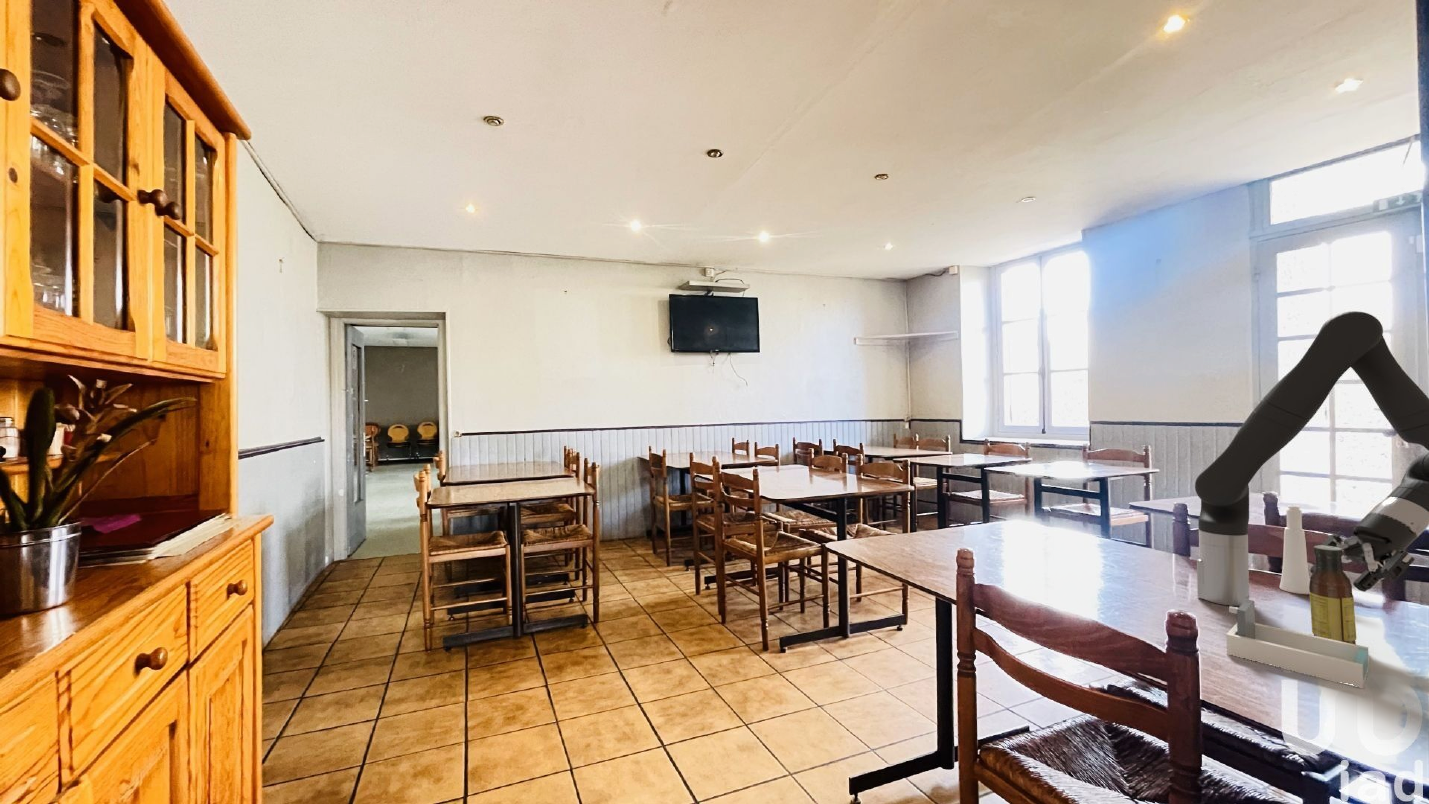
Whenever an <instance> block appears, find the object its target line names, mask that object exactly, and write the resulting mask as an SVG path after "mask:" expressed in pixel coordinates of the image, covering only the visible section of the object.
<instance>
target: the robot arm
mask: <svg viewBox="0 0 1429 804" xmlns="http://www.w3.org/2000/svg"><path fill="white" fill-rule="evenodd" d="M1383 328H1384V327H1383V325H1382V323H1381V322H1380V319H1378V318H1377V317H1375V316H1374V315H1372V314H1370V313H1368V312H1363V311H1347V312H1346V311H1344V312H1341V313H1339V314H1336V315H1334V316H1331V317H1329V319H1327V320H1326V321H1325V322H1324V323H1323V324H1322V326H1321V327H1320V330H1319V332H1318V334H1317V335H1316V336H1315V338H1314V340H1313V342H1312V343H1311V345H1310V346H1309V347H1308V349H1307V351H1306V352H1305V353H1304V355H1303V356H1302V357H1301V359H1300V360H1299V362H1297V364H1296V365H1295V366H1294V367H1293V368H1292V369H1291V370H1290V371H1289V372H1288V373H1287V374H1286V375H1284V377H1282V378H1281V379H1280V380H1279V381H1278V382H1277V383H1276V384H1275V385H1274V386H1273V387H1272V388H1271V389H1270V390H1269V391H1268V392H1267V393H1266V395H1265V396H1264V397H1263V398H1262V399H1261V400H1260V401H1259V403H1258V404H1257V405H1256V407H1254V409H1253V410H1252V412H1251V413H1250V414H1249V416H1248V417H1247V418H1246V419H1245V421H1244V422H1243V423H1242V425H1241V427H1240V428H1239V429H1238V431H1237V433H1236V434H1235V436H1234V437H1233V439H1232V440H1231V442H1230V443H1229V445H1228V446H1227V447H1226V449H1225V450H1223V452H1222V453H1221V454H1220V455H1218V457H1217V458H1216V459H1215V460H1214V461H1213V462H1212V463H1211V464H1210V465H1209V466H1208V467H1206V468H1205V470H1203V471H1202V472H1201V473H1200V474H1199V475H1198V476H1197V477H1196V479H1195V482H1194V490H1195V493H1196V495H1197V497H1198V498H1199V499H1200V512H1199V513H1200V514H1199V516H1198V523H1197V524H1198V525H1197V526H1198V551H1199V552H1198V553H1199V557H1198V559H1197V560H1196V577H1197V579H1196V580H1197V581H1196V585H1197V586H1196V587H1197V598H1198V599H1203V600H1205V601H1207V602H1211V603H1214V604H1219V605H1225V606H1231V607H1240V606H1241V605H1242V604H1243V603H1244V602H1245V601H1246V599H1247V600H1250V574H1249V571H1250V570H1249V567H1250V566H1249V537H1248V536H1249V535H1248V533H1249V532H1248V529H1249V527H1248V526H1249V521H1250V486H1249V484H1250V483H1251V481H1252V480H1253V479H1254V477H1255V475H1256V474H1257V473H1258V471H1260V469H1261V467H1263V465H1264V464H1266V462H1268V461H1269V460H1270V459H1271V458H1272V457H1274V456H1275V455H1276V454H1277V453H1279V452H1280V451H1281V450H1283V448H1285V447H1286V446H1287V445H1288V444H1289V443H1290V442H1292V440H1293V439H1294V438H1295V437H1297V436H1298V435H1299V434H1300V433H1301V431H1302V430H1303V429H1304V428H1305V426H1306V425H1307V424H1308V423H1309V422H1310V421H1311V420H1312V418H1314V416H1315V415H1316V413H1317V412H1318V411H1319V410H1320V408H1321V406H1322V405H1323V404H1324V402H1325V401H1326V400H1327V398H1328V396H1329V394H1330V393H1331V392H1332V390H1333V388H1334V386H1335V385H1336V384H1337V382H1338V381H1339V379H1341V378H1342V376H1343V375H1344V374H1345V373H1346V372H1347V371H1348V370H1349V369H1350V368H1351V370H1352V371H1354V372H1355V373H1356V375H1357V376H1358V378H1359V379H1360V381H1361V382H1363V384H1364V385H1365V387H1366V389H1367V390H1368V393H1369V394H1370V396H1371V397H1372V398H1373V401H1374V402H1375V403H1376V405H1377V406H1378V409H1379V411H1380V412H1381V413H1382V414H1383V416H1384V417H1385V418H1386V420H1387V421H1388V423H1389V424H1390V425H1391V427H1392V428H1393V430H1394V431H1395V432H1396V434H1397V435H1398V436H1399V438H1400V439H1402V441H1404V442H1406V443H1408V444H1416V445H1420V446H1422V447H1423V448H1425V449H1426V450H1427V451H1428V452H1425V453H1423V454H1420V455H1419V456H1418V457H1416V458H1415V459H1414V460H1413V461H1412V462H1411V463H1410V464H1409V466H1408V467H1407V469H1406V471H1405V473H1404V474H1403V477H1402V479H1401V481H1400V484H1399V485H1397V487H1396V488H1395V489H1393V491H1391V492H1390V493H1389V495H1387V496H1386V498H1384V499H1383V500H1382V501H1381V502H1379V503H1377V504H1376V505H1375V506H1374V507H1372V509H1371V510H1370V511H1369V512H1368V513H1367V514H1366V515H1365V516H1364V517H1363V518H1362V519H1361V520H1360V521H1359V522H1358V523H1357V524H1356V525H1355V526H1354V528H1353V533H1352V535H1351V536H1350V537H1347V538H1343V537H1341V536H1340V535H1339V534H1337V533H1332V534H1331V535H1330V536H1328V537H1327V538H1326V539H1325V540H1324V541H1323V542H1322V543H1320V545H1324V546H1333V547H1338V548H1341V549H1342V552H1344V554H1345V555H1344V554H1343V555H1342V557H1341V559H1342V564H1343V563H1344V564H1348V563H1351V562H1354V563H1359V564H1363V565H1365V566H1367V568H1368V570H1364V571H1363V572H1362V574H1360V575H1359V576H1358V578H1356V579H1355V580H1354V581H1353V583H1352V584H1353V587H1355V588H1356V589H1357V590H1358V591H1360V592H1363V593H1364V592H1367V591H1368V590H1371V589H1372V588H1373V587H1374V586H1375V585H1376V584H1377V583H1378V582H1379V581H1380V580H1385V579H1390V580H1391V581H1397V580H1399V578H1400V577H1401V576H1402V575H1403V574H1404V573H1405V571H1406V570H1407V569H1409V567H1410V565H1412V564H1413V563H1414V561H1415V558H1414V557H1413V556H1412V555H1411V554H1410V553H1409V552H1408V551H1407V550H1406V549H1407V548H1408V547H1409V546H1410V545H1412V543H1413V542H1414V541H1415V540H1416V539H1417V538H1418V537H1419V536H1421V534H1422V533H1423V532H1424V531H1425V530H1426V529H1427V528H1428V527H1429V396H1428V395H1427V394H1426V393H1425V392H1424V391H1423V390H1422V389H1421V388H1420V387H1419V385H1418V384H1416V383H1415V381H1414V380H1413V379H1412V378H1411V377H1410V376H1409V375H1408V374H1407V373H1406V372H1405V370H1404V369H1403V367H1401V365H1400V363H1398V361H1397V359H1396V358H1395V357H1394V356H1393V354H1392V352H1391V350H1390V347H1389V346H1388V344H1387V342H1386V339H1385V337H1384V335H1383V334H1384V329H1383ZM1386 561H1387V562H1386ZM1315 564H1316V562H1315V563H1314V564H1313V565H1312V566H1311V568H1310V573H1311V575H1312V574H1313V572H1314V570H1315V568H1316V566H1315Z"/></svg>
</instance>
